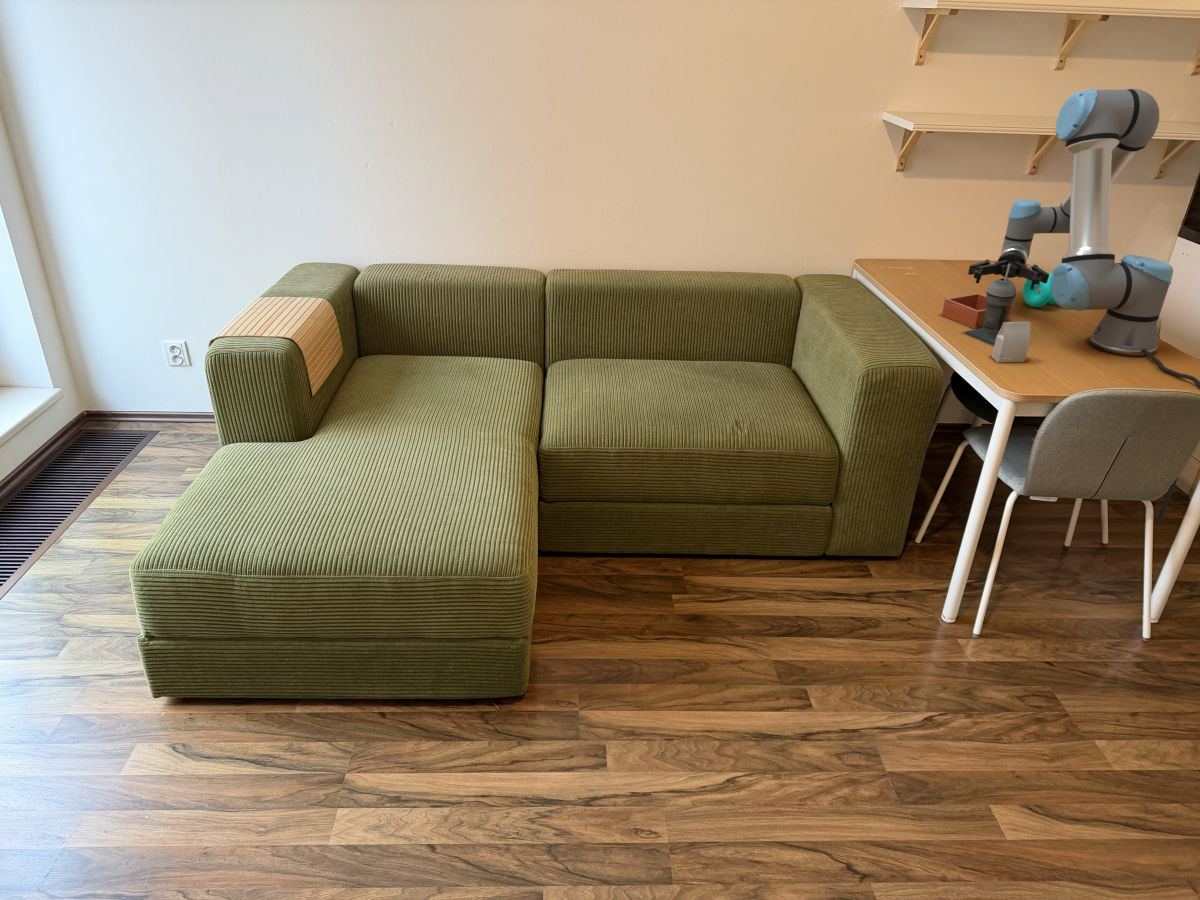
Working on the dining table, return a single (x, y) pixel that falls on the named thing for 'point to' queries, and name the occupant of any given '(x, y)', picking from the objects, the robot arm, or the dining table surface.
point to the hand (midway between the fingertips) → (1005, 281)
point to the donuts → (1034, 297)
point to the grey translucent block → (1012, 342)
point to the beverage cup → (998, 305)
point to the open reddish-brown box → (967, 309)
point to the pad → (981, 336)
